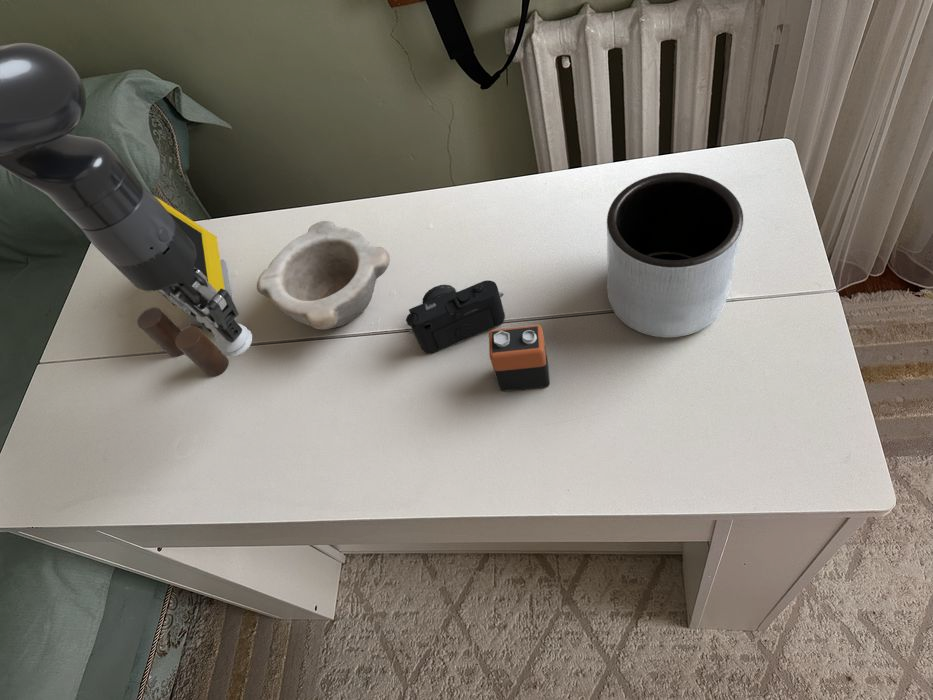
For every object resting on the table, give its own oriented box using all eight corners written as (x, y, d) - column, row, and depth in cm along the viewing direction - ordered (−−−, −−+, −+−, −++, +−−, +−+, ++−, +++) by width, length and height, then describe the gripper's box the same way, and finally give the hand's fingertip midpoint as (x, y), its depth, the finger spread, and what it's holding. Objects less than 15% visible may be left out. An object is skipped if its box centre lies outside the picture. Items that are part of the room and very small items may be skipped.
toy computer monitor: (240, 331, 101) (185, 268, 88) (195, 350, 101) (133, 289, 88) (226, 249, 112) (176, 183, 99) (185, 266, 112) (129, 201, 99)
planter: (714, 353, 82) (731, 278, 69) (593, 328, 88) (589, 255, 75) (735, 261, 89) (755, 177, 76) (623, 243, 95) (624, 163, 82)
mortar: (413, 289, 98) (396, 250, 91) (338, 366, 93) (313, 331, 86) (343, 248, 107) (322, 209, 99) (270, 317, 101) (242, 281, 94)
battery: (499, 365, 88) (487, 324, 79) (548, 360, 86) (540, 318, 78) (500, 392, 85) (487, 353, 77) (550, 388, 84) (543, 347, 76)
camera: (495, 288, 95) (486, 253, 89) (513, 323, 91) (505, 289, 85) (408, 325, 95) (392, 292, 88) (422, 361, 91) (406, 330, 84)
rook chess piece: (250, 357, 79) (216, 320, 73) (217, 360, 80) (181, 324, 73) (257, 328, 82) (225, 290, 75) (226, 331, 82) (192, 294, 76)
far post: (179, 360, 100) (148, 332, 94) (163, 351, 102) (131, 323, 95) (195, 341, 102) (166, 312, 95) (179, 333, 103) (150, 304, 97)
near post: (217, 380, 96) (187, 352, 90) (199, 371, 98) (169, 343, 92) (233, 360, 98) (206, 331, 91) (216, 351, 100) (188, 322, 93)
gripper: (71, 243, 66) (168, 335, 80) (156, 283, 60) (244, 375, 74) (123, 194, 68) (208, 291, 83) (209, 228, 62) (284, 326, 77)
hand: (225, 330), depth 78 cm, fingers closed on rook chess piece, 3 cm apart
